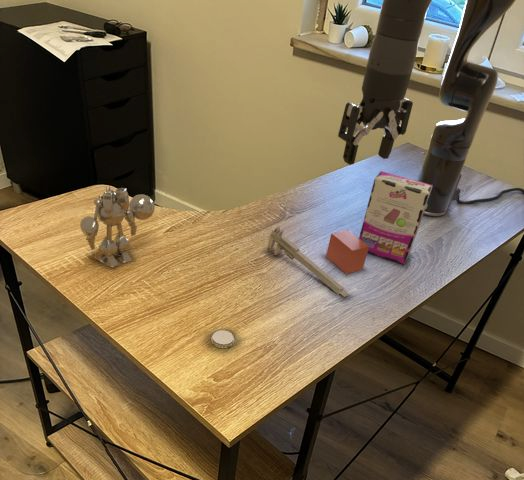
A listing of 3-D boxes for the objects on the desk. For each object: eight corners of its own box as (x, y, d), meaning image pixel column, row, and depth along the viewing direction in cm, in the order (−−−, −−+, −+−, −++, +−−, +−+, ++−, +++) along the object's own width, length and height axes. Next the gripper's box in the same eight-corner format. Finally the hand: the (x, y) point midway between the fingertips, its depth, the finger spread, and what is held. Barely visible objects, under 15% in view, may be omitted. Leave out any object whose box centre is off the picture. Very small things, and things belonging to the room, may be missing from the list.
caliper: (266, 251, 111) (270, 224, 106) (270, 249, 111) (274, 223, 107) (344, 298, 101) (351, 271, 97) (347, 296, 102) (355, 269, 98)
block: (341, 252, 114) (347, 229, 110) (362, 269, 110) (369, 246, 106) (325, 256, 112) (331, 233, 108) (346, 274, 108) (352, 250, 104)
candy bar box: (409, 254, 116) (434, 184, 105) (404, 265, 113) (429, 193, 102) (361, 239, 119) (380, 169, 108) (354, 249, 115) (374, 177, 104)
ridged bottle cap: (205, 338, 88) (206, 335, 88) (223, 329, 90) (224, 326, 90) (221, 351, 86) (221, 348, 86) (239, 341, 89) (240, 338, 88)
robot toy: (144, 237, 109) (142, 167, 99) (162, 251, 106) (161, 180, 96) (79, 259, 101) (69, 185, 90) (96, 275, 98) (88, 200, 88)
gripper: (372, 75, 82) (349, 174, 93) (435, 70, 89) (407, 163, 100) (342, 60, 87) (324, 156, 98) (405, 56, 93) (381, 147, 104)
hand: (366, 160), depth 99 cm, fingers open, 8 cm apart
